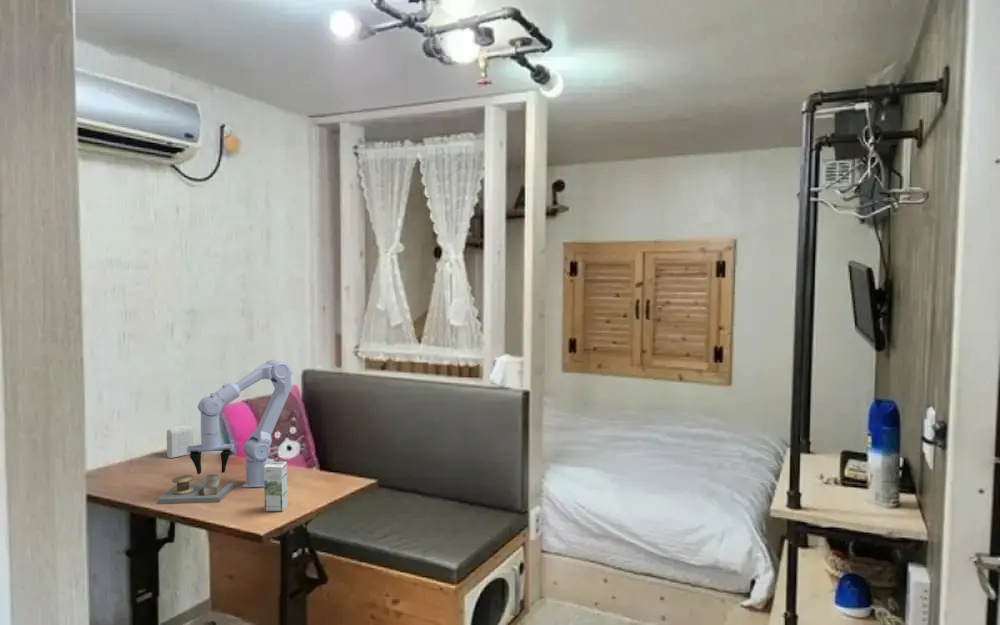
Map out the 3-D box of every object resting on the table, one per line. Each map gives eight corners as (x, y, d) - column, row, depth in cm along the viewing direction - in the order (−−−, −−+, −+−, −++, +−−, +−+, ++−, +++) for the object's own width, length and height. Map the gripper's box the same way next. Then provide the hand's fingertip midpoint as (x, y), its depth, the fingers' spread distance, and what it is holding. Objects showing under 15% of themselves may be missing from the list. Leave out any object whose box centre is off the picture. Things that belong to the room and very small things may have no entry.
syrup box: (288, 505, 207) (287, 460, 206) (282, 512, 201) (281, 466, 200) (270, 505, 207) (269, 460, 206) (263, 512, 201) (263, 466, 200)
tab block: (219, 491, 221) (219, 473, 221) (216, 495, 217) (216, 477, 217) (207, 491, 220) (206, 474, 220) (204, 495, 216) (203, 478, 216)
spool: (196, 488, 219) (196, 474, 219) (189, 494, 213) (188, 480, 213) (177, 488, 219) (176, 475, 219) (169, 495, 212) (168, 481, 212)
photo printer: (189, 452, 271) (188, 422, 271) (195, 453, 269) (194, 424, 268) (165, 457, 263) (164, 427, 262) (171, 459, 260) (170, 428, 260)
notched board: (235, 486, 226) (235, 482, 226) (219, 502, 210) (219, 497, 210) (178, 487, 224) (178, 483, 224) (158, 503, 209) (158, 499, 208)
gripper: (235, 429, 223) (236, 467, 224) (190, 431, 220) (191, 470, 221) (231, 433, 216) (232, 473, 217) (184, 435, 213) (185, 476, 214)
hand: (211, 472), depth 218 cm, fingers open, 7 cm apart
